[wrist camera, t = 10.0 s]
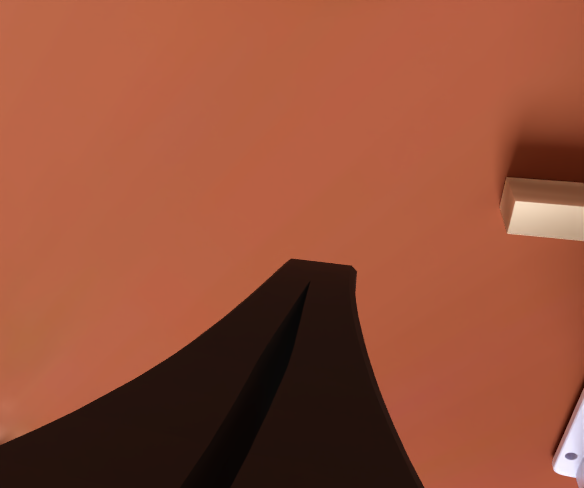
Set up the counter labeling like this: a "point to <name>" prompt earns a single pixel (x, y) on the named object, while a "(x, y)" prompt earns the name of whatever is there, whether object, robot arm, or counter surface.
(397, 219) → the counter surface
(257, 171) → the counter surface
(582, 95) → the counter surface
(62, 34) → the counter surface
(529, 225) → the lane rails
